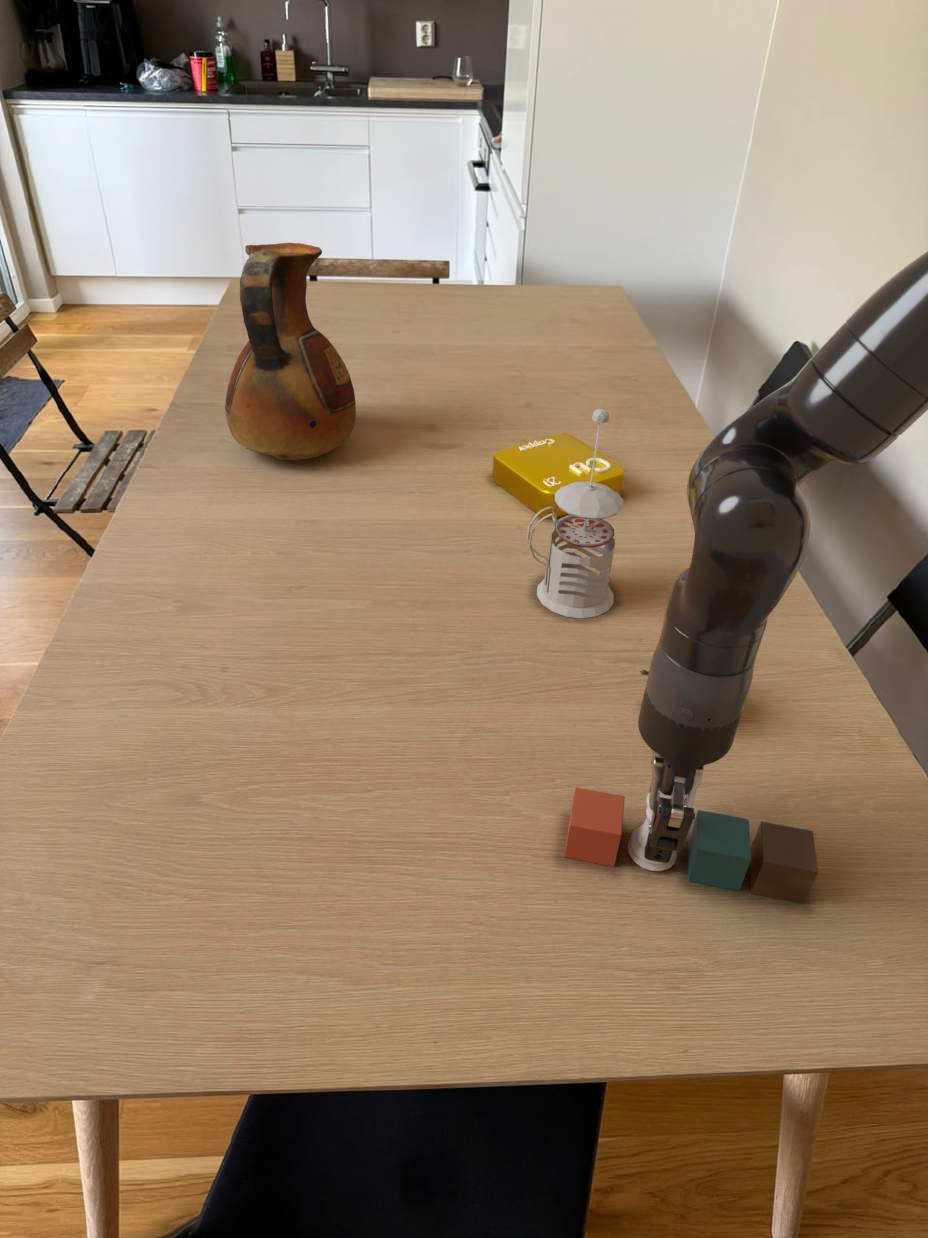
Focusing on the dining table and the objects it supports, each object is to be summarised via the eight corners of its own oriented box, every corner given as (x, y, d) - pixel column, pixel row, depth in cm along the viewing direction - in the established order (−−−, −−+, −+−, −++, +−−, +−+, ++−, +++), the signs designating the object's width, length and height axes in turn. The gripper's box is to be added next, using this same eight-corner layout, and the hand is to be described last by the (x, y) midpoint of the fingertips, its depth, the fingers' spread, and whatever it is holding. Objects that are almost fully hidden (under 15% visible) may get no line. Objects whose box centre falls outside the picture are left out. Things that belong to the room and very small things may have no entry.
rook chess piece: (666, 831, 83) (682, 773, 78) (683, 871, 80) (701, 812, 75) (620, 837, 82) (634, 778, 77) (635, 877, 79) (651, 818, 74)
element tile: (563, 454, 142) (567, 427, 139) (626, 496, 132) (631, 467, 129) (486, 477, 135) (488, 448, 132) (546, 522, 126) (549, 492, 123)
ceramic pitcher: (371, 424, 148) (366, 234, 130) (336, 482, 132) (325, 275, 114) (258, 411, 150) (238, 222, 132) (211, 466, 134) (180, 261, 116)
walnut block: (799, 862, 81) (813, 830, 78) (803, 904, 77) (818, 872, 75) (748, 852, 81) (760, 821, 79) (750, 893, 78) (763, 862, 75)
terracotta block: (617, 828, 83) (624, 796, 80) (614, 867, 80) (621, 835, 77) (569, 819, 84) (575, 786, 81) (564, 857, 80) (569, 825, 77)
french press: (621, 617, 109) (656, 429, 93) (527, 618, 108) (547, 429, 92) (606, 571, 116) (636, 391, 101) (518, 572, 116) (534, 390, 100)
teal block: (737, 850, 82) (749, 818, 79) (739, 891, 78) (751, 859, 75) (688, 841, 82) (697, 809, 79) (687, 881, 79) (697, 849, 76)
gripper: (749, 766, 62) (700, 908, 73) (741, 641, 74) (700, 780, 84) (642, 748, 64) (608, 890, 74) (650, 627, 75) (620, 765, 85)
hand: (657, 831), depth 79 cm, fingers open, 5 cm apart
